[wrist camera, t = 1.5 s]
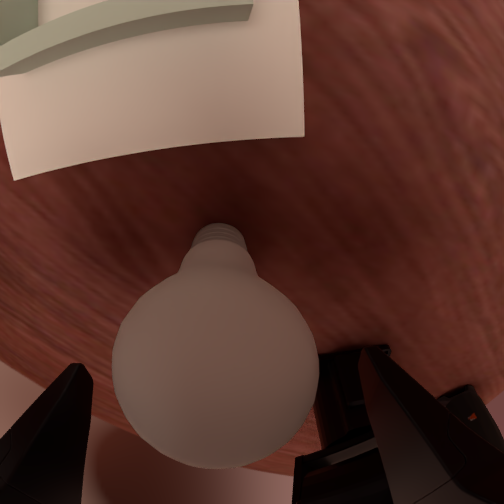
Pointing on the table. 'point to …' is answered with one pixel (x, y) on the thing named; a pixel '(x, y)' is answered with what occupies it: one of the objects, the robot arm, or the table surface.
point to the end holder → (144, 77)
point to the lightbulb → (215, 359)
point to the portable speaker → (474, 415)
